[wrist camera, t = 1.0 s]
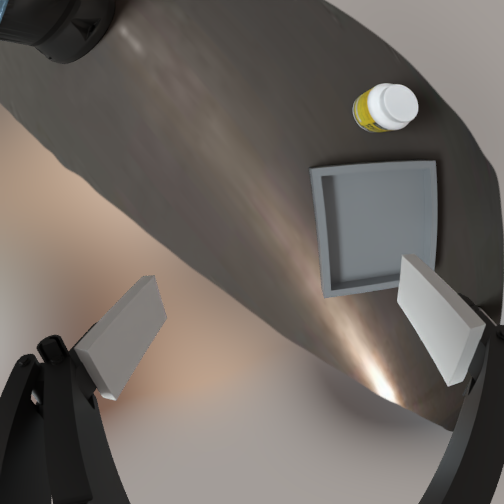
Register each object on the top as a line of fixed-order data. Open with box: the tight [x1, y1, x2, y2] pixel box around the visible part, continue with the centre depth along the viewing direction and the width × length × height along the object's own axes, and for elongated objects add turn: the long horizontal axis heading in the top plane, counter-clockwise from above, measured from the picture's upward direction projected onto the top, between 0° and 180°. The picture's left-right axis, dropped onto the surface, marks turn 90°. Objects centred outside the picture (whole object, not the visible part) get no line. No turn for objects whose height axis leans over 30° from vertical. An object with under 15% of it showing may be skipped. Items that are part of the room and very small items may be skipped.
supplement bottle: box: [353, 83, 418, 132], centre depth 25 cm, size 5×5×10 cm
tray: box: [309, 160, 437, 298], centre depth 33 cm, size 17×17×3 cm
